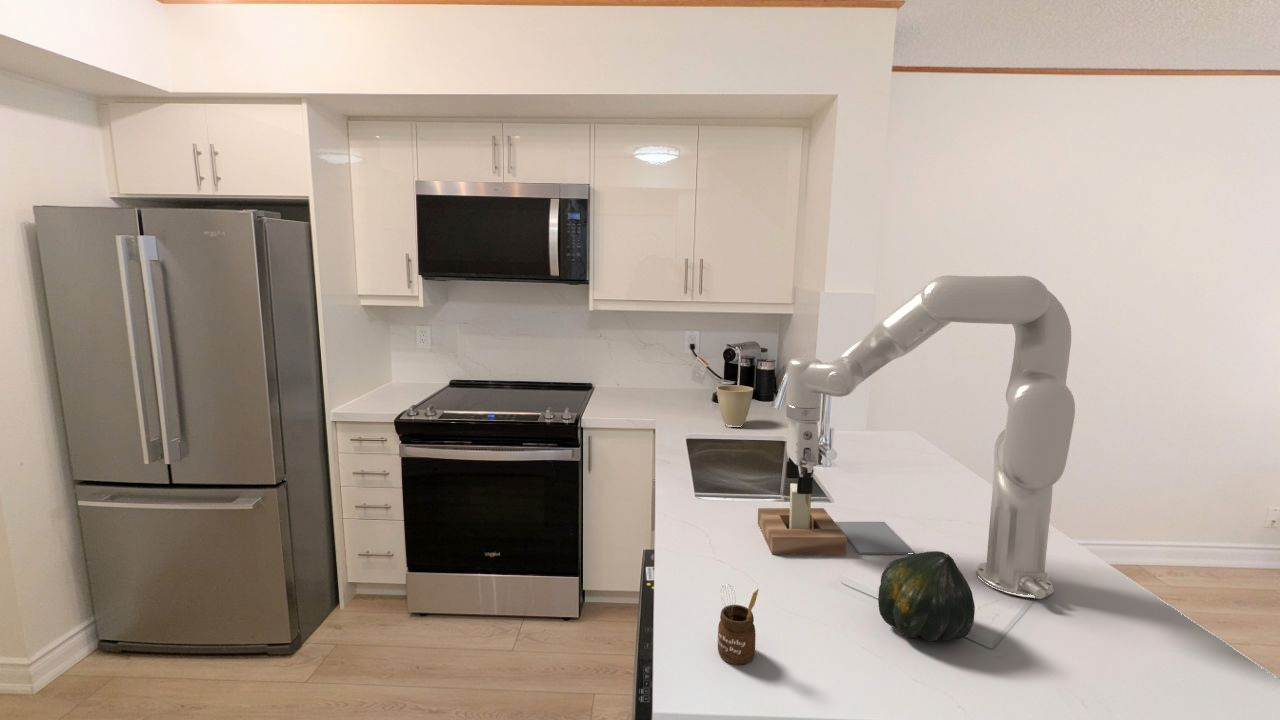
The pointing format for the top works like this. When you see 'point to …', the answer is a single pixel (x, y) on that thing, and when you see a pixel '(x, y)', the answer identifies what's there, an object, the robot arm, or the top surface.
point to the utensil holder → (737, 632)
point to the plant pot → (734, 403)
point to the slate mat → (873, 538)
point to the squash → (926, 597)
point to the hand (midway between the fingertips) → (798, 485)
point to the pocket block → (801, 533)
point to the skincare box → (799, 509)
